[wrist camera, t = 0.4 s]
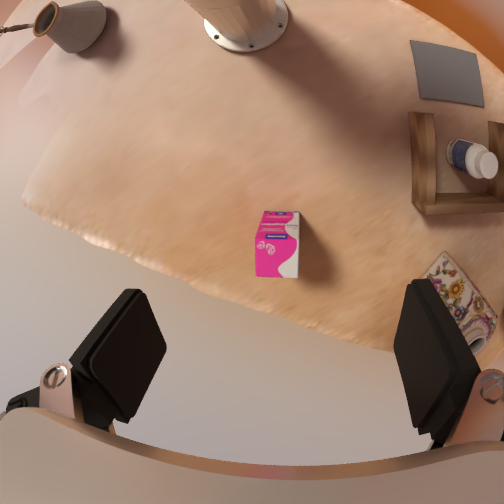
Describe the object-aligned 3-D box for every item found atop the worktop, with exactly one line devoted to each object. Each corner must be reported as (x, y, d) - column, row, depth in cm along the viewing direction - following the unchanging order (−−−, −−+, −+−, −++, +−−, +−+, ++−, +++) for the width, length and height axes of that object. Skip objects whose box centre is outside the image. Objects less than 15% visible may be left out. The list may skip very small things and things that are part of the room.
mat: (409, 40, 27) (410, 40, 27) (474, 54, 24) (476, 53, 24) (420, 97, 32) (421, 97, 31) (483, 106, 29) (484, 106, 28)
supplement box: (299, 209, 44) (300, 240, 34) (298, 243, 46) (299, 281, 36) (263, 209, 45) (253, 239, 35) (264, 242, 47) (255, 279, 37)
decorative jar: (403, 291, 48) (433, 359, 32) (443, 248, 42) (490, 307, 27) (434, 315, 49) (462, 378, 34) (470, 278, 44) (510, 335, 28)
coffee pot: (121, 1, 29) (70, -20, 16) (102, 54, 34) (44, 47, 21) (53, 12, 28) (5, 6, 15) (38, 57, 34) (-12, 59, 20)
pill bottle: (447, 170, 36) (478, 186, 28) (443, 139, 34) (474, 148, 25) (470, 166, 35) (502, 181, 26) (466, 136, 32) (499, 145, 24)
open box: (408, 112, 33) (424, 112, 28) (493, 121, 29) (513, 125, 24) (411, 202, 40) (425, 215, 35) (491, 200, 36) (509, 211, 31)
